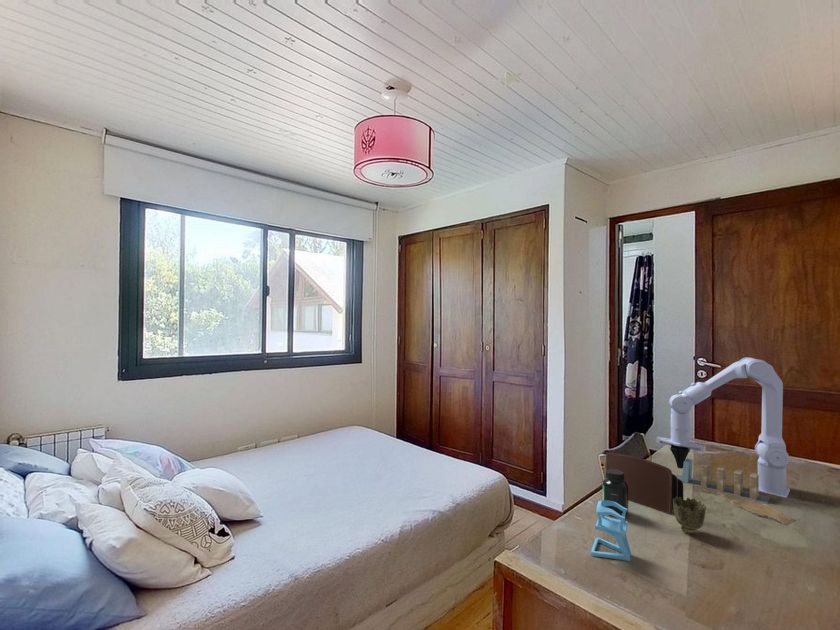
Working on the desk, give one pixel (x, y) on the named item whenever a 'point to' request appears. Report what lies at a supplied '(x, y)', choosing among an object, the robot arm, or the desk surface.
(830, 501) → the desk surface
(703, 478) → the tile
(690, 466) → the tile
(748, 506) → the pottery shard
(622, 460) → the letter holder
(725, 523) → the desk surface
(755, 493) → the tile
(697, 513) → the cup
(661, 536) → the desk surface
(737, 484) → the tile
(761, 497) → the felt runner
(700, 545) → the desk surface
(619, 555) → the light blue stand
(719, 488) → the tile
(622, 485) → the supplement bottle
